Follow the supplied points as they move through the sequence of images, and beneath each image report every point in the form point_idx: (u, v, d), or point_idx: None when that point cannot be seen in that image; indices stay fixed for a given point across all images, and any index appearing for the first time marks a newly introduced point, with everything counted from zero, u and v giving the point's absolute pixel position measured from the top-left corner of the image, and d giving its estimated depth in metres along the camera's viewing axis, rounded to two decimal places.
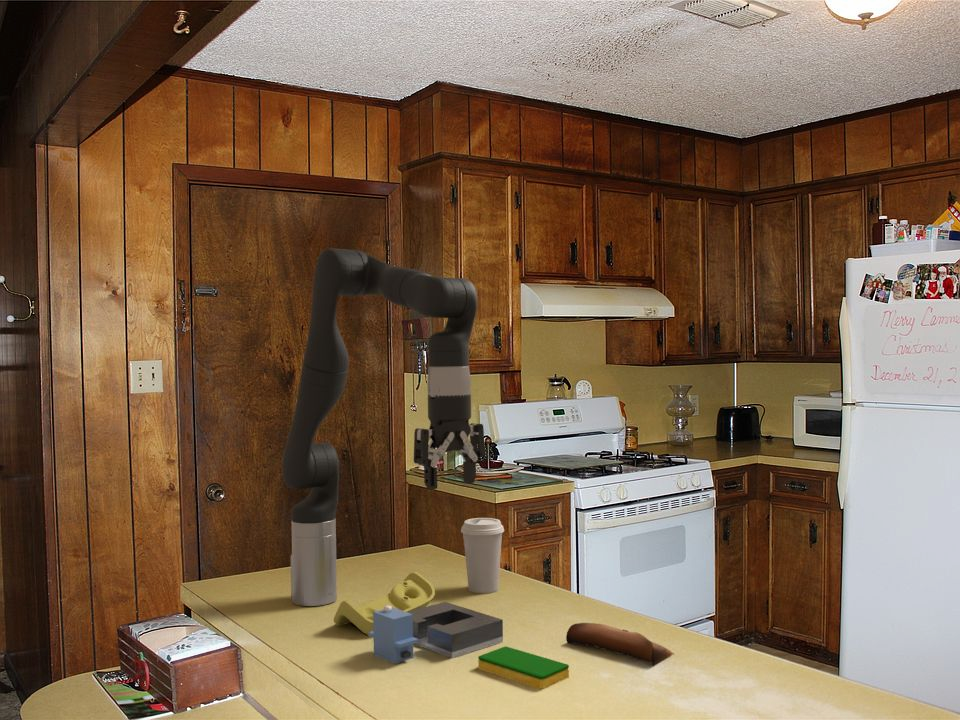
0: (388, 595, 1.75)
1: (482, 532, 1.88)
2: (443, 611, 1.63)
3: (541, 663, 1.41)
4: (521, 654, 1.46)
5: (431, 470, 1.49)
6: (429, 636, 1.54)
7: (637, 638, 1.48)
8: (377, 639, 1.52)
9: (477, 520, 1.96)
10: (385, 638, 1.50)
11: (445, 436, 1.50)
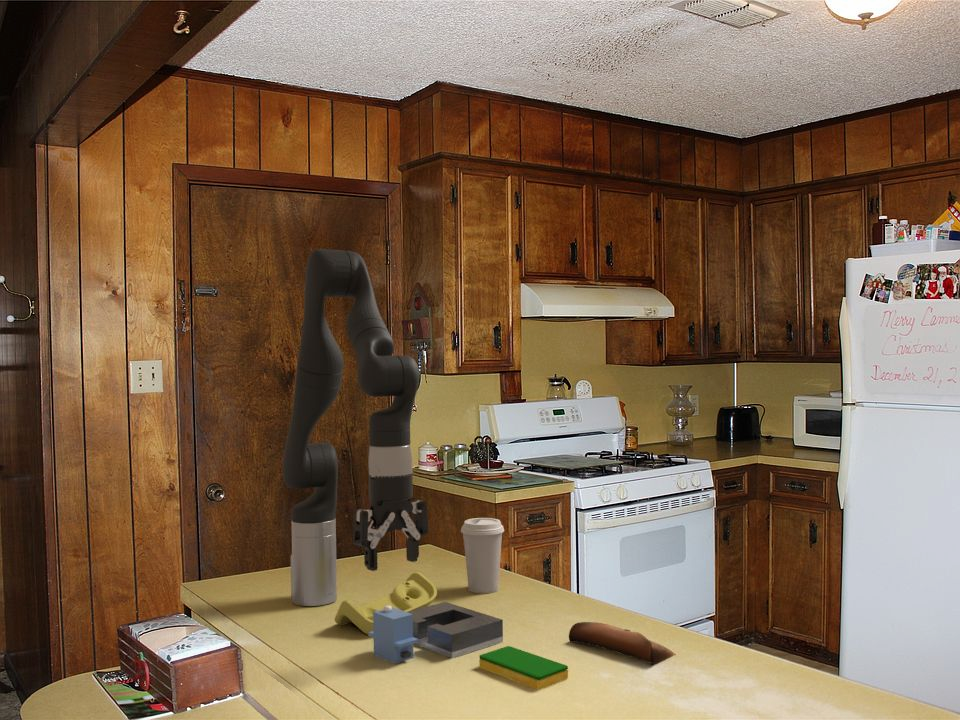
0: (390, 595, 1.75)
1: (482, 532, 1.88)
2: (443, 611, 1.63)
3: (540, 663, 1.41)
4: (522, 654, 1.46)
5: (371, 551, 1.47)
6: (429, 636, 1.54)
7: (637, 638, 1.49)
8: (377, 639, 1.52)
9: (477, 520, 1.96)
10: (385, 638, 1.50)
11: (385, 516, 1.49)
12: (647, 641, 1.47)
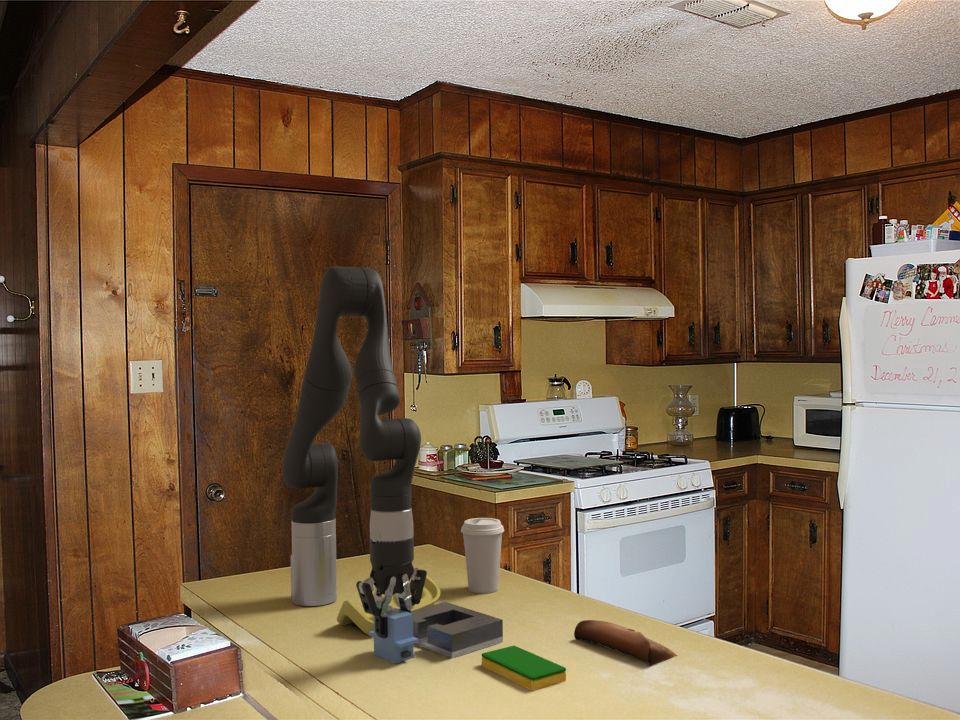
0: (393, 595, 1.75)
1: (482, 532, 1.88)
2: (443, 611, 1.63)
3: (539, 664, 1.41)
4: (524, 654, 1.46)
5: (382, 619, 1.49)
6: (429, 636, 1.54)
7: (637, 637, 1.49)
8: (377, 639, 1.52)
9: (477, 520, 1.96)
10: (385, 638, 1.50)
11: (387, 583, 1.49)
12: (646, 641, 1.47)
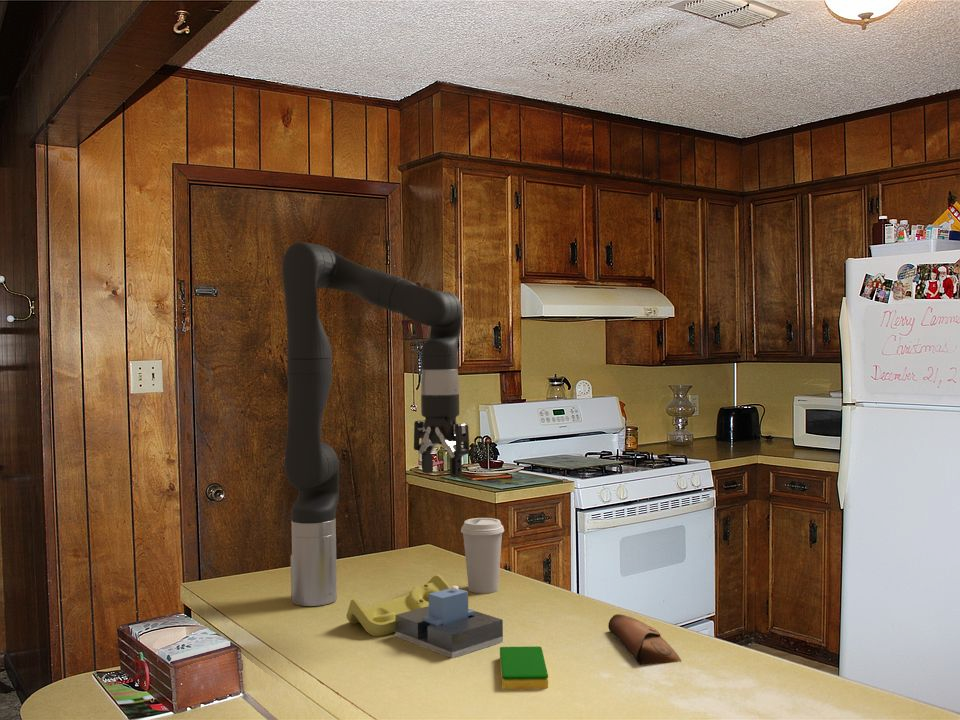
0: (406, 596, 1.74)
1: (482, 532, 1.88)
2: None
3: (529, 667, 1.40)
4: (533, 656, 1.45)
5: None
6: (429, 636, 1.54)
7: (639, 636, 1.50)
8: None
9: (477, 520, 1.96)
10: None
11: None
12: (641, 640, 1.47)
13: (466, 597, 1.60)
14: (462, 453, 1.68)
